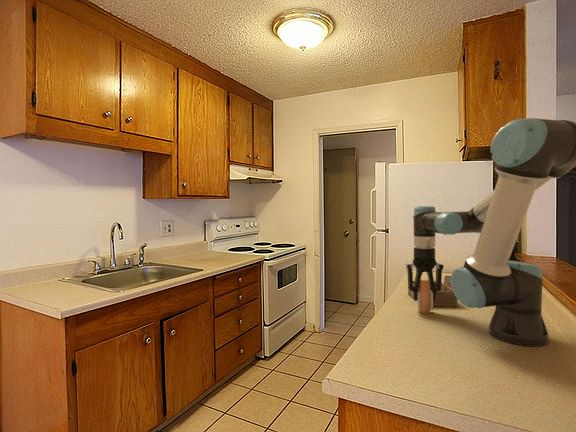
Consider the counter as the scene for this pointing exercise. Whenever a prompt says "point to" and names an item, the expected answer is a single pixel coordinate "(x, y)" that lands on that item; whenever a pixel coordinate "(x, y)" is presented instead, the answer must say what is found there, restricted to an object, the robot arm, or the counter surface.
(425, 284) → the peg
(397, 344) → the counter surface
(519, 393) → the counter surface
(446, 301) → the crate
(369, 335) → the counter surface
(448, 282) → the stone
